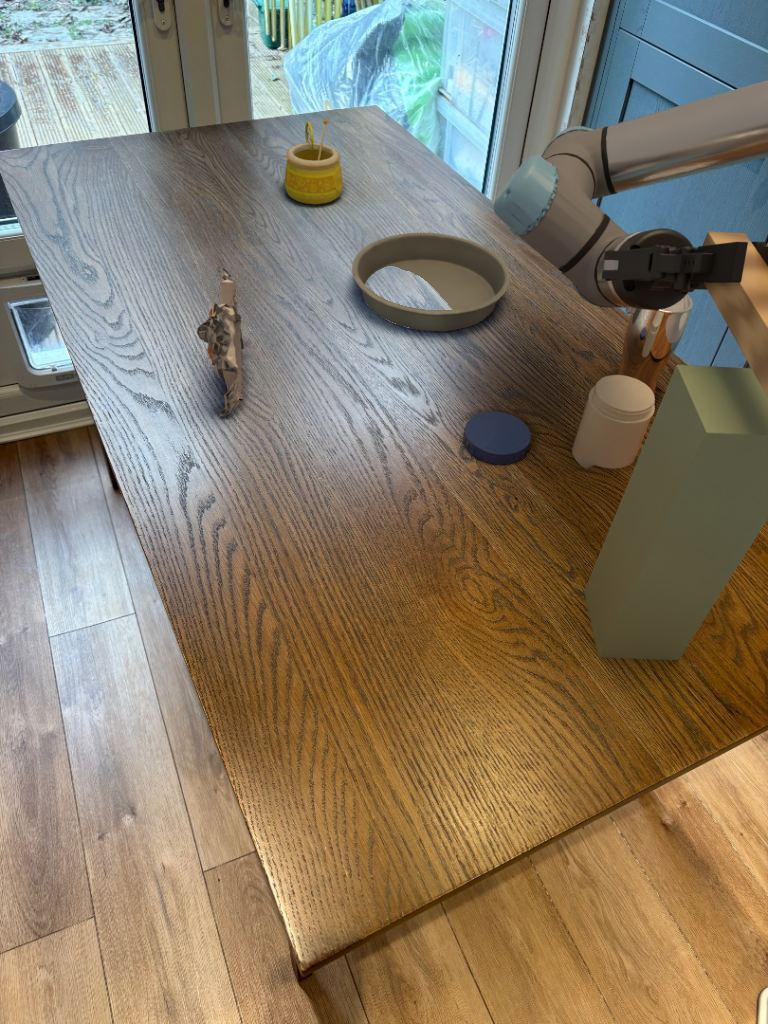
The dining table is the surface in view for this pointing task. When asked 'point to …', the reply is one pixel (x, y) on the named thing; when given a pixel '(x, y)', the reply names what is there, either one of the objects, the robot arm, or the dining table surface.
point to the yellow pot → (313, 171)
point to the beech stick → (745, 305)
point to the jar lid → (497, 437)
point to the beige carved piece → (225, 341)
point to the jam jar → (613, 422)
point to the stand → (683, 515)
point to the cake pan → (436, 278)
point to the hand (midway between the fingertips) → (764, 263)
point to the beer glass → (653, 341)
